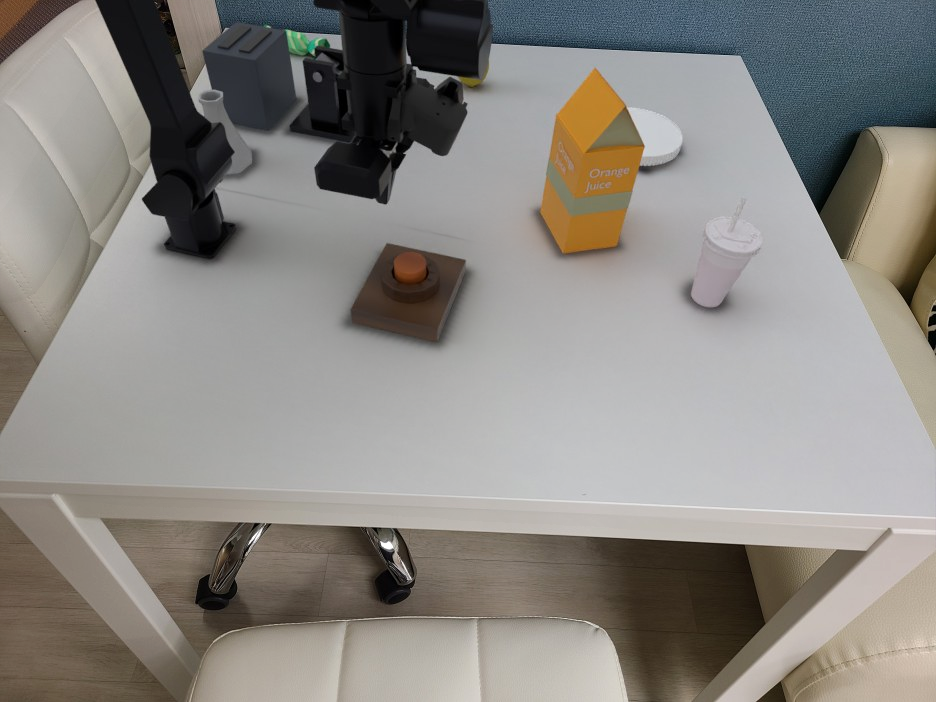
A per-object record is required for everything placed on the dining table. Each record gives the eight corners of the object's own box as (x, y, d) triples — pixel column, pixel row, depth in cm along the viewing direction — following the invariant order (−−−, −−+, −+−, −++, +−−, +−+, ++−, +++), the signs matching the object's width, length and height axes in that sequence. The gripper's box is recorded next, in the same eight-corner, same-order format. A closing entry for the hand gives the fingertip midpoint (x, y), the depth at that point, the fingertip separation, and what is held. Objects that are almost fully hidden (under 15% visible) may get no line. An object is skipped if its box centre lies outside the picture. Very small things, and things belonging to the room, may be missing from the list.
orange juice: (562, 254, 85) (592, 108, 70) (538, 212, 91) (562, 68, 76) (618, 246, 87) (659, 101, 72) (592, 205, 92) (625, 63, 77)
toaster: (268, 132, 100) (254, 57, 92) (219, 122, 101) (201, 48, 93) (296, 100, 107) (286, 28, 98) (250, 91, 108) (235, 19, 99)
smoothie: (694, 271, 84) (733, 176, 74) (742, 295, 82) (789, 200, 71) (670, 297, 81) (707, 201, 70) (719, 323, 78) (765, 228, 68)
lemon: (449, 82, 113) (450, 34, 107) (478, 76, 115) (481, 29, 109) (462, 97, 110) (465, 49, 104) (492, 92, 112) (496, 43, 106)
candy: (332, 48, 117) (323, 34, 113) (325, 66, 117) (316, 52, 113) (273, 34, 120) (262, 19, 116) (266, 51, 119) (255, 37, 115)
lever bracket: (372, 118, 104) (367, 49, 96) (353, 145, 99) (347, 74, 91) (312, 107, 106) (302, 37, 98) (290, 132, 100) (278, 62, 92)
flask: (260, 150, 97) (246, 84, 89) (244, 179, 92) (228, 112, 85) (210, 145, 97) (193, 79, 90) (192, 174, 92) (172, 106, 85)
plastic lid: (635, 113, 109) (639, 99, 108) (697, 156, 102) (702, 141, 100) (568, 135, 104) (571, 120, 102) (628, 181, 97) (632, 166, 95)
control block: (437, 343, 74) (437, 317, 71) (351, 323, 75) (348, 297, 72) (465, 273, 82) (466, 247, 79) (387, 256, 83) (385, 230, 80)
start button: (420, 288, 75) (420, 276, 73) (389, 281, 75) (389, 269, 74) (430, 267, 77) (430, 255, 76) (400, 260, 77) (399, 249, 76)
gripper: (430, 127, 54) (430, 272, 66) (484, 31, 66) (476, 168, 78) (301, 103, 55) (323, 249, 67) (377, 15, 68) (384, 151, 79)
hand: (383, 202), depth 73 cm, fingers closed
